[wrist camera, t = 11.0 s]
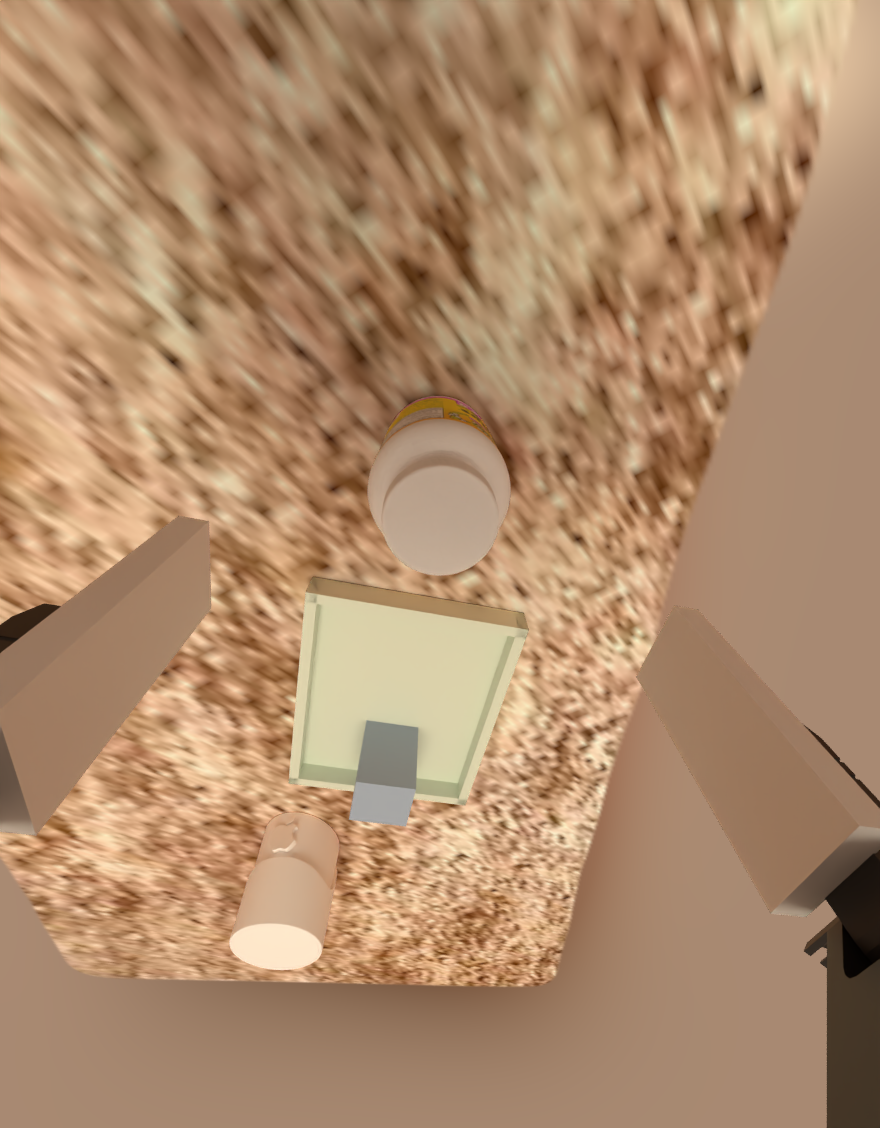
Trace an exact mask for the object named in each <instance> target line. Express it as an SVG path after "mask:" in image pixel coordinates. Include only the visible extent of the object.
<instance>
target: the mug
mask: <svg viewBox="0 0 880 1128" xmlns="http://www.w3.org/2000/svg"><path fill="white" fill-rule="evenodd" d="M339 848H340V845H339V840H338V837H337V835H336V833H335V832H334V830H333V829H332V828H331V827H330V826H329V825H328V824H327V823H326V822H324V821H323V820H321V819H319V818H317V817H315V816H313V815H310V814H306V813H301V812H288V813H283V814H280V815H278V816H276V817H274V818H273V819H272V820H271V821H270V822H269V823H268V825H267V827H266V830H265V833H264V837H263V840H262V844H261V847H260V851H259V854H258V858H257V861H256V865H255V868H254V869H253V870H252V872H251V873H250V875H249V877H248V880H247V884H246V887H245V890H244V894H243V897H242V901H241V904H240V907H239V911H238V914H237V917H236V921H235V924H234V927H233V931H232V934H231V938H230V942H229V944H230V948H231V950H232V952H233V953H234V954H235V955H236V956H237V957H238V958H240V959H241V960H243V961H245V962H247V963H249V964H251V965H254V966H257V967H261V968H266V969H274V970H290V969H297V968H301V967H304V966H307V965H309V964H311V963H313V962H314V961H316V960H317V959H318V958H319V957H320V955H321V953H322V949H323V944H324V939H325V934H326V929H327V924H328V919H329V913H330V908H331V903H332V898H333V893H334V888H335V884H336V878H337V869H336V863H337V858H338V854H339Z"/></svg>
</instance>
